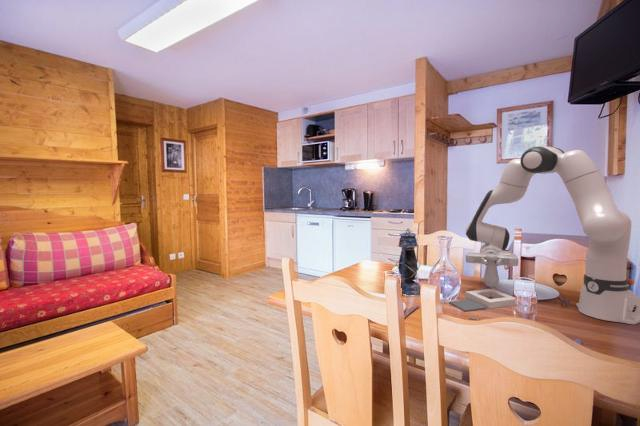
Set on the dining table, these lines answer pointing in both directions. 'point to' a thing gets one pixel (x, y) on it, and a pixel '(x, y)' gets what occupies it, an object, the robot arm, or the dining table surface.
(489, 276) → the salt shaker
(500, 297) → the socket block
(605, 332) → the dining table surface
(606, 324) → the dining table surface
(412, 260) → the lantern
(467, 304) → the rubber pad
